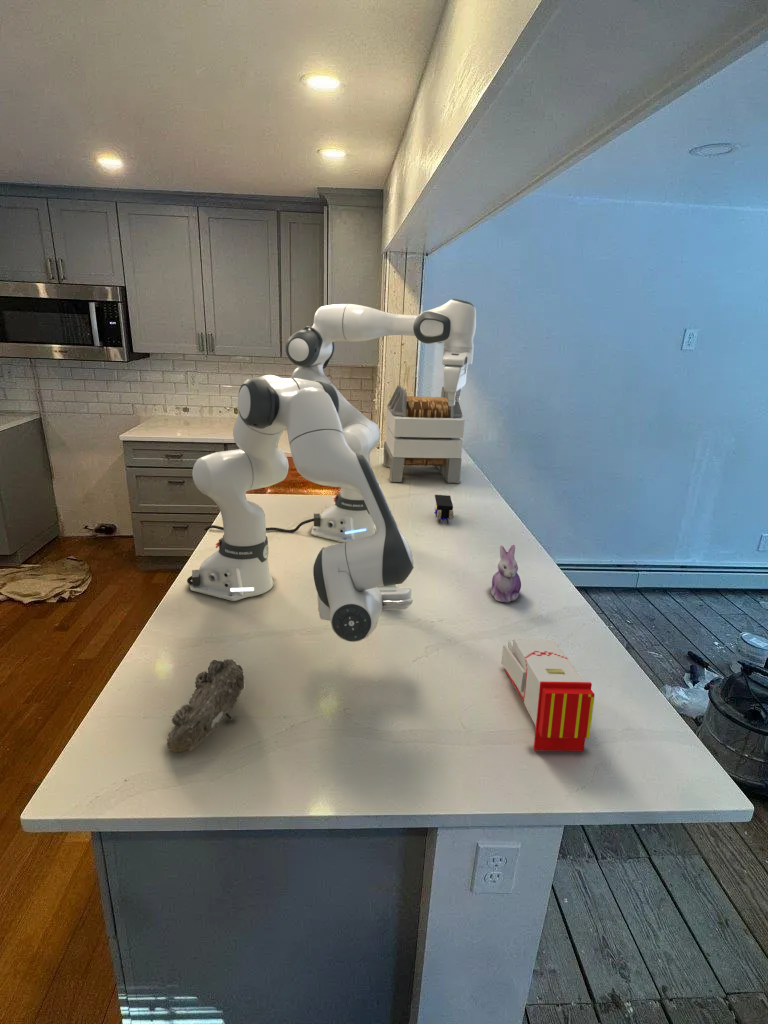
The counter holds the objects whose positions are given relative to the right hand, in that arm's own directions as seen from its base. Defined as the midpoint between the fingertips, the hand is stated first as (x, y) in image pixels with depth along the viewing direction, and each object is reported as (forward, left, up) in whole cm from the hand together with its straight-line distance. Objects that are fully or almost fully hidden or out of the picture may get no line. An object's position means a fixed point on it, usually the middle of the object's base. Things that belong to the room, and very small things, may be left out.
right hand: (454, 403), depth 174 cm
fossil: (-26, -98, -48) cm, 112 cm away
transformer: (-27, +86, -48) cm, 102 cm away
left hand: (-6, -65, -34) cm, 73 cm away
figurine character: (-5, +27, -48) cm, 55 cm away
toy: (+33, -73, -48) cm, 93 cm away
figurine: (+23, -28, -48) cm, 60 cm away
